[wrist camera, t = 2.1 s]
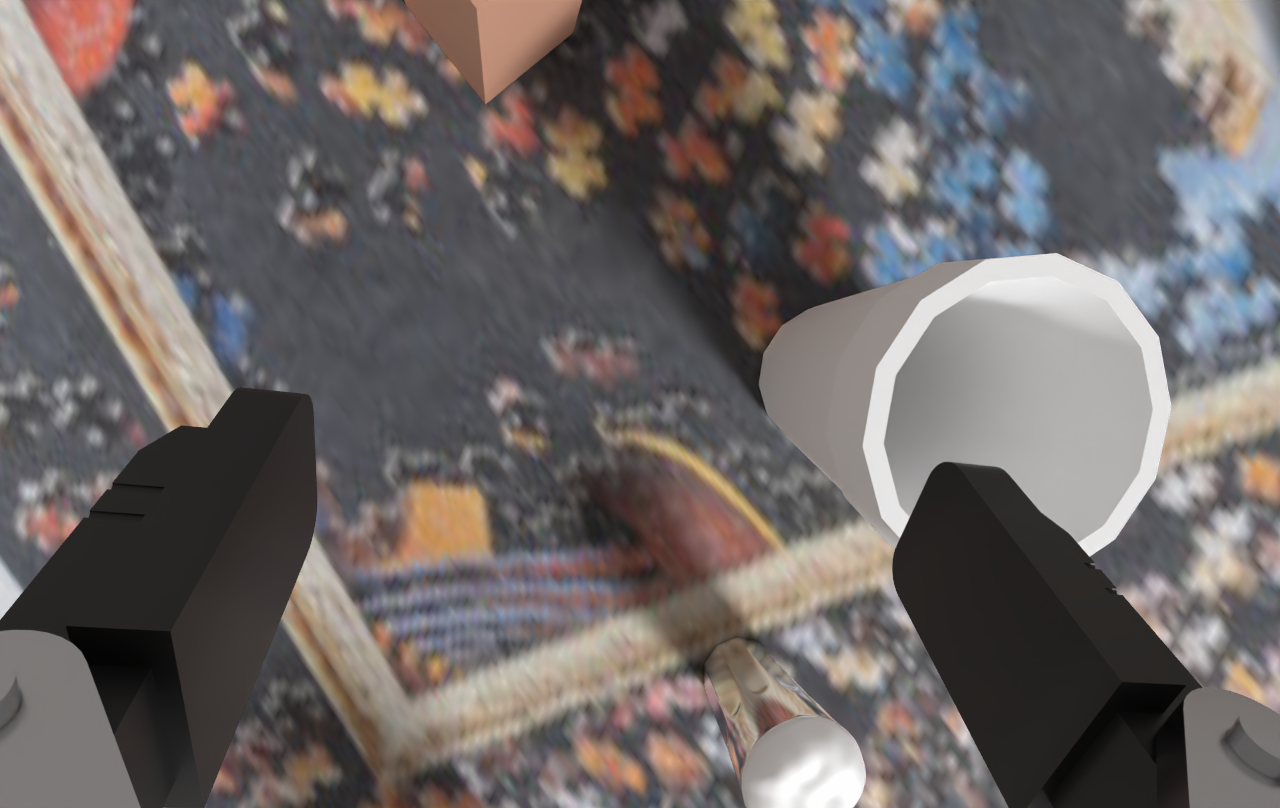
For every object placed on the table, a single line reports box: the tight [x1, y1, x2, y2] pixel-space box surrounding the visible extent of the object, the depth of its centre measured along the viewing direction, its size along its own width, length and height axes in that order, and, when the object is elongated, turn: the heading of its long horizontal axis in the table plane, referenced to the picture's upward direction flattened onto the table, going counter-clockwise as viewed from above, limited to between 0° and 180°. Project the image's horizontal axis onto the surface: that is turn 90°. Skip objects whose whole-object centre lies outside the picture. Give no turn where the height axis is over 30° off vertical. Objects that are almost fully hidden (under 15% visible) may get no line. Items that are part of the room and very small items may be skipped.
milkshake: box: [704, 637, 866, 808], centre depth 30 cm, size 4×5×10 cm
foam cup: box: [759, 253, 1171, 557], centre depth 27 cm, size 10×9×13 cm
